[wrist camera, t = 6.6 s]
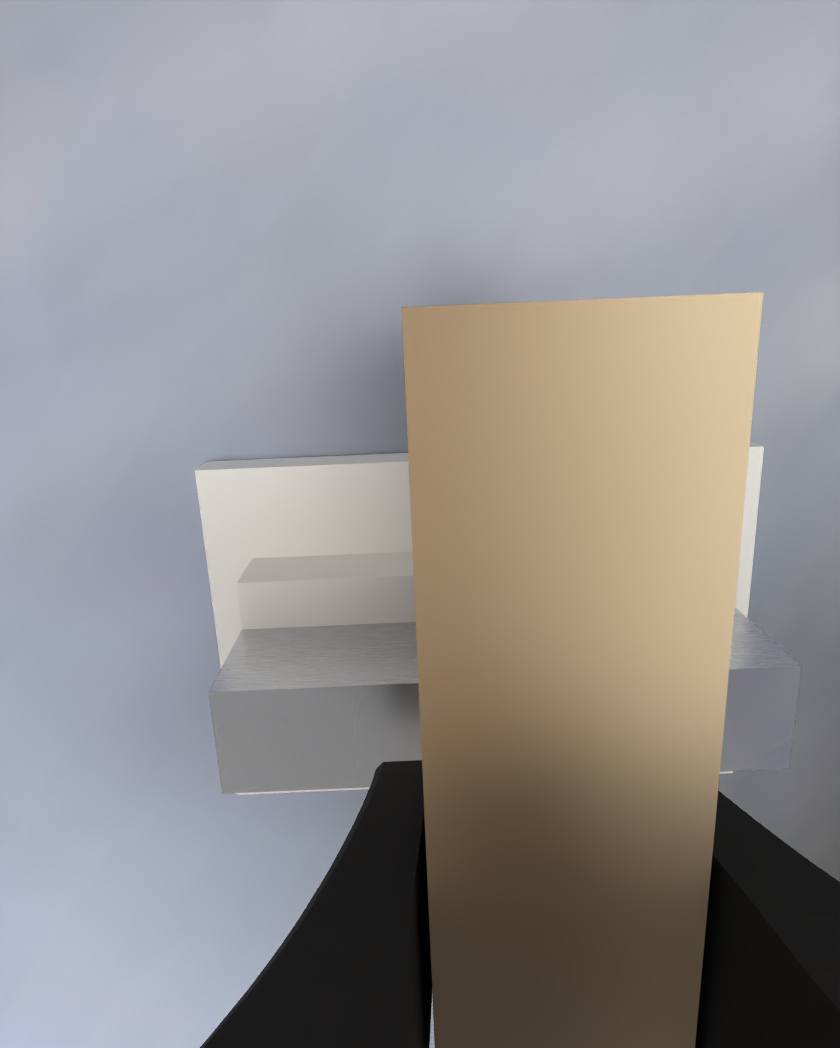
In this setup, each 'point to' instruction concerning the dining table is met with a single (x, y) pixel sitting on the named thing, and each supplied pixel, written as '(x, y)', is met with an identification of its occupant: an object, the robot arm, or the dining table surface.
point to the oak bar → (574, 653)
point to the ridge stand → (378, 627)
